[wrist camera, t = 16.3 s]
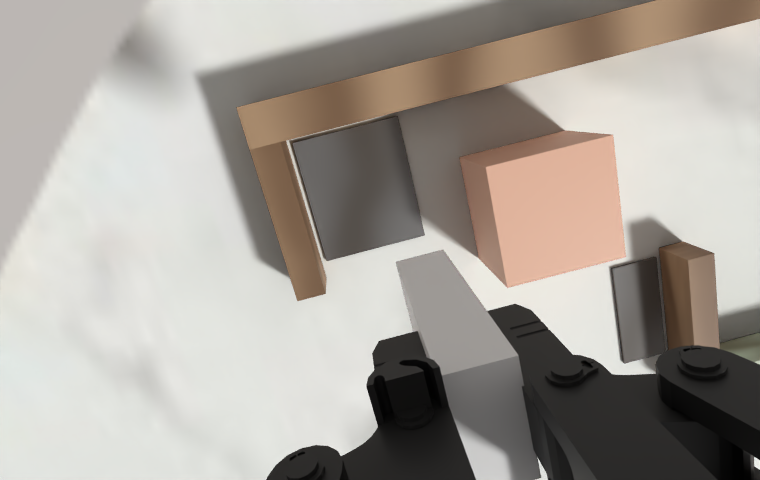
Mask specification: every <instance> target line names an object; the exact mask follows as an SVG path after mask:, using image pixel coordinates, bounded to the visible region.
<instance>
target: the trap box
mask: <svg viewBox="0 0 760 480" xmlns="http://www.w3.org/2000/svg"><path fill="white" fill-rule="evenodd" d="M756 19H760V0H655V1H651V2H648V3H644V4H640V5H636V6H632V7H628V8H624V9H620V10H616V11H612V12H608V13H604V14H601V15H597V16H593V17H589V18H585V19H581V20H577V21H573V22H569V23H565V24H561V25H557V26H553V27H550V28H546V29H542V30H538V31H534V32H530V33H526V34H522V35H518V36H514V37H510V38H506V39H503V40H499V41H495V42H491V43H487V44H483V45H479V46H475V47H471V48H467V49H463V50H459V51H455V52H452V53H448V54H444V55H440V56H436V57H432V58H428V59H424V60H420V61H416V62H412V63H408V64H405V65H401V66H397V67H393V68H389V69H385V70H381V71H377V72H373V73H369V74H365V75H361V76H358V77H354V78H350V79H346V80H342V81H338V82H334V83H330V84H326V85H322V86H318V87H314V88H310V89H307V90H303V91H299V92H295V93H291V94H287V95H283V96H279V97H275V98H271V99H267V100H263V101H260V102H256V103H252V104H248V105H244V106H240V107H236V108H237V112H238V115H239V118H240V121H241V124H242V127H243V130H244V134H245V137H246V140H247V143H248V146H249V149H250V153H251V156H252V159H253V162H254V165H255V168H256V172H257V175H258V178H259V181H260V184H261V187H262V190H263V194H264V197H265V200H266V203H267V206H268V209H269V213H270V216H271V219H272V222H273V225H274V228H275V232H276V235H277V238H278V241H279V244H280V247H281V250H282V254H283V257H284V260H285V263H286V266H287V269H288V273H289V276H290V279H291V282H292V285H293V288H294V292H295V295H296V298H297V301H300V300H304V299H307V298H311V297H315V296H319V295H323V294H326V275H325V271H324V268H323V265H322V261H321V258H320V254H319V251H318V248H317V244H316V241H315V237H314V234H313V231H312V227H311V224H310V220H309V217H308V214H307V210H306V207H305V203H304V200H303V197H302V193H301V190H300V187H299V183H298V180H297V176H296V173H295V170H294V166H293V163H292V159H291V156H290V153H289V149H288V146H287V142H286V140H290V139H294V138H297V137H301V136H305V135H309V134H313V133H317V132H321V131H325V130H329V129H332V128H336V127H340V126H344V125H348V124H352V123H356V122H360V121H364V120H367V119H371V118H375V117H379V116H383V115H387V114H391V113H395V112H399V111H402V110H406V109H410V108H414V107H418V106H422V105H426V104H430V103H434V102H437V101H441V100H445V99H449V98H453V97H457V96H461V95H465V94H469V93H472V92H476V91H480V90H484V89H488V88H492V87H496V86H500V85H504V84H507V83H511V82H515V81H519V80H523V79H527V78H531V77H535V76H539V75H542V74H546V73H550V72H554V71H558V70H562V69H566V68H570V67H574V66H577V65H581V64H585V63H589V62H593V61H597V60H601V59H605V58H609V57H613V56H616V55H620V54H624V53H628V52H632V51H636V50H640V49H644V48H648V47H651V46H655V45H659V44H663V43H667V42H671V41H675V40H679V39H683V38H686V37H690V36H694V35H698V34H702V33H706V32H710V31H714V30H718V29H721V28H725V27H729V26H733V25H737V24H741V23H745V22H749V21H753V20H756ZM292 144H293V147H294V150H295V154H296V157H297V161H298V164H299V168H300V171H301V174H302V178H303V181H304V185H305V188H306V192H307V195H308V198H309V202H310V205H311V209H312V212H313V216H314V219H315V222H316V226H317V229H318V233H319V236H320V240H321V243H322V247H323V250H324V253H325V257H326V260H327V261H329V260H333V259H337V258H340V257H344V256H348V255H352V254H356V253H359V252H363V251H367V250H371V249H375V248H379V247H382V246H386V245H390V244H394V243H398V242H401V241H405V240H409V239H413V238H417V237H420V236H424V235H425V234H424V230H423V225H422V221H421V216H420V212H419V208H418V203H417V199H416V195H415V190H414V186H413V182H412V177H411V173H410V168H409V164H408V160H407V155H406V151H405V147H404V142H403V138H402V134H401V129H400V125H399V120H398V116H396V117H392V118H388V119H384V120H381V121H377V122H373V123H369V124H365V125H361V126H357V127H353V128H349V129H346V130H342V131H338V132H334V133H330V134H326V135H322V136H318V137H315V138H311V139H307V140H303V141H299V142H295V143H292ZM659 254H660V265H661V276H662V287H663V298H664V309H665V320H666V331H667V342H668V350H670V349H674V348H677V347H681V346H691V345H700V346H707V347H715V348H718V349H722V350H725V351H728V352H732V353H734V354H736V355H739V356H741V357H743V358H746V359H748V360H750V361H753V362H755V363H757V364H760V332H759V333H756V334H752V335H748V336H745V337H741V338H737V339H734V340H730V341H726V342H723V343H719V327H718V310H717V293H716V276H715V259H714V253H712V252H709V251H707V250H704V249H701V248H699V247H696V246H693V245H691V244H688V243H686V242H679V243H675V244H672V245H668V246H664V247H660V248H659ZM612 275H613V283H614V291H615V300H616V308H617V316H618V324H619V333H620V341H621V349H622V357H623V363H624V364H625V363H628V362H632V361H636V360H640V359H643V358H647V357H651V356H654V355H658V354H662V353H664V352H665V344H664V333H663V322H662V312H661V301H660V290H659V280H658V269H657V258H656V257H653V258H649V259H645V260H641V261H638V262H634V263H630V264H626V265H623V266H619V267H615V268H612Z"/></svg>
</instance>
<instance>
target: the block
mask: <svg viewBox="0 0 760 480" xmlns="http://www.w3.org/2000/svg"><path fill="white" fill-rule="evenodd" d="M459 158H460V163H461V168H462V173H463V179H464V184H465V189H466V194H467V199H468V204H469V210H470V215H471V220H472V225H473V230H474V236H475V241H476V246H477V251H478V256H479V259H480V260H481V261H482V262H483V263H484V264H485V265H486V266H487V267H488V268H489V269H490V270H491V271H492V272H493V274H494V275H495V276H496V277H497V278H498V279H499V280H500V281H501V282H502V283H503V284H504V285H505V286H506V287H507V288H509V287H513V286H516V285H520V284H524V283H528V282H532V281H536V280H539V279H543V278H547V277H551V276H555V275H559V274H563V273H566V272H570V271H574V270H578V269H582V268H586V267H590V266H593V265H597V264H601V263H605V262H609V261H613V260H616V259H620V258H624V257H626V253H625V244H624V234H623V225H622V215H621V206H620V196H619V187H618V177H617V168H616V158H615V149H614V139H613V135H609V134H598V133H586V132H575V131H561V132H557V133H553V134H549V135H545V136H541V137H537V138H533V139H529V140H525V141H521V142H517V143H513V144H510V145H506V146H502V147H498V148H494V149H490V150H486V151H482V152H478V153H474V154H470V155H466V156H462V157H459Z"/></svg>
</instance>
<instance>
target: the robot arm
mask: <svg viewBox="0 0 760 480" xmlns="http://www.w3.org/2000/svg"><path fill="white" fill-rule="evenodd" d="M396 265H397V269H398V273H399V277H400V281H401V285H402V289H403V293H404V297H405V301H406V305H407V309H408V313H409V317H410V321H411V325H412V329H413V332H412V333H408V334H404V335H400V336H396V337H393V338H389V339H385V340H381V341H379V342H378V344H377V346H376V348H375V349H374V351H373V353H372V354H373V362H374V369H375V370H374V371H373V373H372V374H371V375H370V376H369V377H368V381H367V390H368V393H369V397H370V400H371V404H372V407H373V411H374V414H375V417H376V421H377V424H378V428H377V430H376V431H375V433H374V434H373V435H372V437H370V438H369V439H368V440H367V441H366V442H365V443H364V444H362V445H361V446H359V447H357V448H356V449H354V450H352V451H351V452H349V453H347V454H345V455H343V456H340V454H339V453H338V451H337V450H335V449H333V448H331V447H329V446H319V445H314V446H310V447H306V448H302V449H299V450H297V451H295V452H293V453H291V454H290V455H288V456H286V457H285V458H284V459H283V460H282V461H280V462H279V463H278V464H277V465H276V466H275V467H274V469H273V470H272V471H271V473H270V474H269V476H268V477H267V479H266V480H535V479H539V478H541V475H540V469H539V464H538V459H539V460H540V462H541V464H542V466H543V468H544V469H545V471H546V473H547V477H548V480H760V470H759V469H757V468H756V467H754V457H756V458H758V459H759V460H760V364H757V363H755V362H753V361H750V360H748V359H746V358H743V357H741V356H739V355H736V354H734V353H732V352H728V351H725V350H722V349H718V348H715V347H707V346H700V345H691V346H681V347H677V348H674V349H670V350H667V351H666V352H664V353H663V354H662V355H660V356H659V357H658V360H657V362H656V374H642V375H613V374H611V373H610V372H609V371H608V370H607V369H606V368H605V367H604V366H603V365H601V364H600V363H598V362H597V361H595V360H594V359H591V358H587V357H584V356H581V355H572V353H571V352H570V351H569V350H568V349H567V348H566V347H565V346H564V345H563V344H562V343H561V342H560V341H559V339H558V338H557V337H556V336H555V335H554V334H553V333H552V332H551V331H550V330H548V328H547V327H546V326H545V324H544V323H543V322H541V321H540V319H539V318H538V317H537V316H536V315H535V314H534V313H533V312H532V311H531V310H530V309H527V308H524V307H522V306H519V305H517V304H513V305H509V306H505V307H501V308H498V309H494V310H490V311H486V309H485V308H484V306H483V305H482V304H481V302H480V301H479V299H478V298H477V296H476V295H475V294H474V292H473V291H472V289H471V288H470V287H469V285H468V284H467V282H466V281H465V280H464V278H463V277H462V275H461V274H460V273H459V271H458V270H457V268H456V267H455V266H454V264H453V263H452V261H451V260H450V259H449V257H448V256H447V254H446V253H445V252H444V250H440V251H436V252H432V253H428V254H424V255H420V256H417V257H413V258H409V259H405V260H401V261H397V262H396ZM537 457H538V459H537Z"/></svg>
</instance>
